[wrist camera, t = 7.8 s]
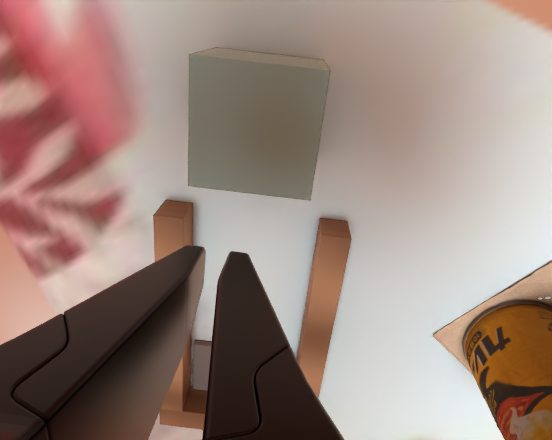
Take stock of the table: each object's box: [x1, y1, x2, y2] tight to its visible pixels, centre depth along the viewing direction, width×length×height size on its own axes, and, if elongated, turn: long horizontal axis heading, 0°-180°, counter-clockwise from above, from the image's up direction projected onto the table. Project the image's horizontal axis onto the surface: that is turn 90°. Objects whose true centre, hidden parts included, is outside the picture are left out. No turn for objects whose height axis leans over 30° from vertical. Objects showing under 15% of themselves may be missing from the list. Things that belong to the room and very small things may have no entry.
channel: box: [153, 200, 351, 429], centre depth 25 cm, size 16×10×2 cm, turn 174°
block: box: [188, 47, 330, 200], centre depth 18 cm, size 5×5×5 cm
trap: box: [193, 340, 212, 391], centre depth 27 cm, size 4×6×1 cm, turn 84°
